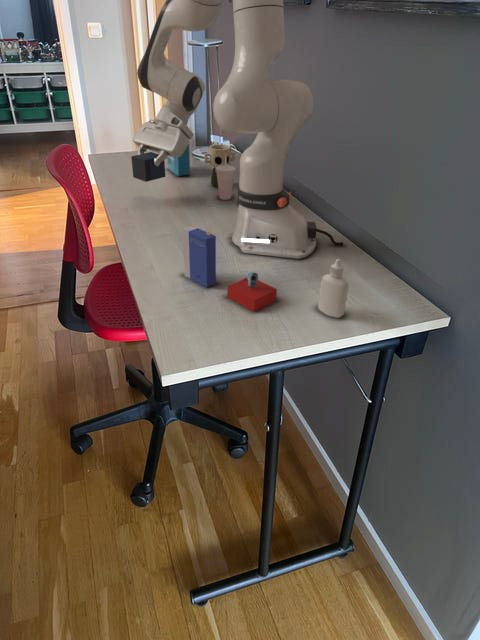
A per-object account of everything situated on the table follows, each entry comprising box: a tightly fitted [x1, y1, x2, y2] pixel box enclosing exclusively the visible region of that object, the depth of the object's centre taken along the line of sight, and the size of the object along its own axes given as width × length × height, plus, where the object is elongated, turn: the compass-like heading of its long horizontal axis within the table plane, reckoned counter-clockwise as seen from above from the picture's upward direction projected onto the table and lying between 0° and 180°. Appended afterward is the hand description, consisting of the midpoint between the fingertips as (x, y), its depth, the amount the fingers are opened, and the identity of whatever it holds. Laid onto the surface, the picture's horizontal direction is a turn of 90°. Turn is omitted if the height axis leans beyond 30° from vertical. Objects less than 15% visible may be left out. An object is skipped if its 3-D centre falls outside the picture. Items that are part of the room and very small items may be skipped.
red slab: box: [227, 272, 278, 312], centre depth 107 cm, size 8×7×6 cm
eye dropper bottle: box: [317, 258, 350, 319], centre depth 101 cm, size 4×6×12 cm
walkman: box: [182, 225, 217, 288], centre depth 112 cm, size 8×3×12 cm, turn 45°
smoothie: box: [215, 153, 236, 201], centre depth 159 cm, size 6×6×14 cm
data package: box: [166, 143, 191, 177], centre depth 182 cm, size 12×4×12 cm, turn 26°
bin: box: [130, 151, 166, 183], centre depth 153 cm, size 8×6×6 cm
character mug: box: [204, 143, 236, 187], centre depth 170 cm, size 11×7×13 cm, turn 111°
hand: (146, 162), depth 152 cm, fingers closed on bin, 6 cm apart
